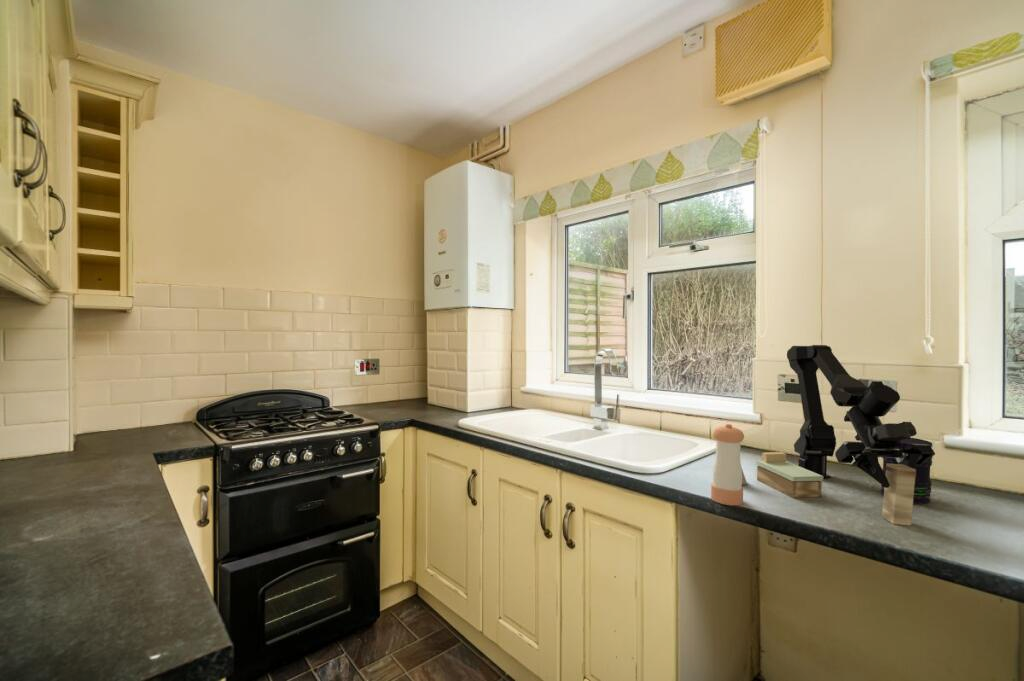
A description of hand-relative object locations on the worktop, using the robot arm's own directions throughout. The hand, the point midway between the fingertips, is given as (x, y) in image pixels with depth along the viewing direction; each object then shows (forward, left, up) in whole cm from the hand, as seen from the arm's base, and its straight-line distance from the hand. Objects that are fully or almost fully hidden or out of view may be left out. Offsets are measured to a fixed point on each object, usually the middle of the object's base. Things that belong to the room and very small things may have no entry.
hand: (901, 487), depth 100 cm
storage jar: (-17, -15, -8) cm, 24 cm away
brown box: (0, -1, -8) cm, 8 cm away
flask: (+21, -30, -8) cm, 37 cm away
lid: (+9, -24, -4) cm, 26 cm away
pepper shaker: (+31, -17, -8) cm, 36 cm away
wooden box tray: (+9, -24, -8) cm, 26 cm away
